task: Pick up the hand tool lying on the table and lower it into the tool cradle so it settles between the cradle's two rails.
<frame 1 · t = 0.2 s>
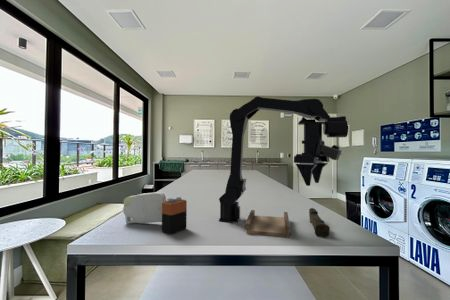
hand: (312, 184, 76), 14 cm above the table, tool pointing down, fingers open, 9 cm apart
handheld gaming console: (146, 224, 77), on the table
hand tool: (314, 228, 75), on the table
tool cradle: (268, 226, 75), on the table
battery: (174, 230, 71), on the table
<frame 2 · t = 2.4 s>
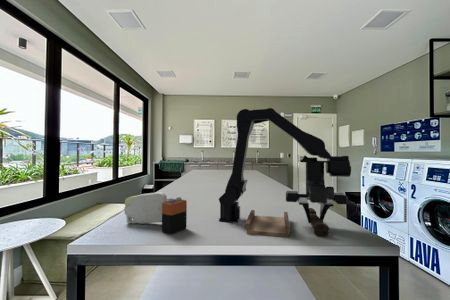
hand: (315, 223, 75), 1 cm above the table, tool pointing down, fingers closed on hand tool, 3 cm apart
hand tool: (313, 227, 75), on the table, touching gripper
everything else where it was.
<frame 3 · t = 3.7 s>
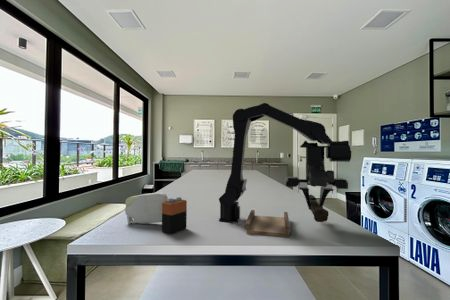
hand: (314, 208, 75), 6 cm above the table, tool pointing down, fingers closed on hand tool, 3 cm apart
hand tool: (313, 213, 75), point 4 cm above the table, touching gripper
everything else where it was.
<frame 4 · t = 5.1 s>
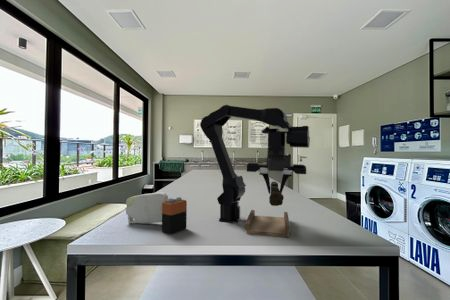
hand: (274, 194, 75), 11 cm above the table, tool pointing down, fingers closed on hand tool, 3 cm apart
hand tool: (273, 199, 75), point 9 cm above the table, touching gripper
everything else where it was.
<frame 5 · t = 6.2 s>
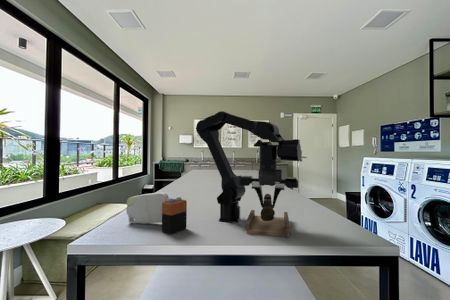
hand: (267, 207, 75), 6 cm above the table, tool pointing down, fingers closed on hand tool, 3 cm apart
hand tool: (266, 212, 75), point 4 cm above the table, touching gripper
everything else where it was.
when the fingers open (4 cm above the table, at t = 7.2 s): hand tool drops 2 cm, resting on tool cradle.
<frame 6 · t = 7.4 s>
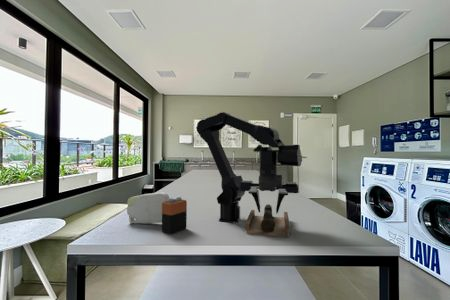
hand: (268, 212, 75), 4 cm above the table, tool pointing down, fingers open, 5 cm apart
hand tool: (266, 223, 75), point 1 cm above the table, touching tool cradle
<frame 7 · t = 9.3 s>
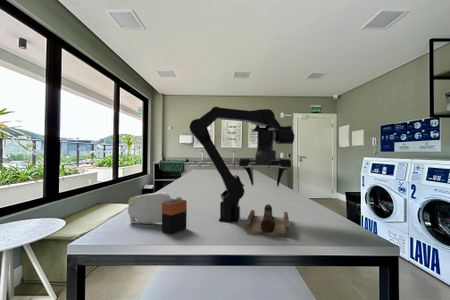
hand: (264, 186, 84), 12 cm above the table, tool pointing down, fingers open, 9 cm apart
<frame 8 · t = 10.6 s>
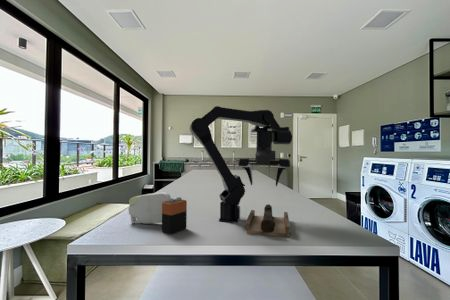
hand: (263, 185, 86), 12 cm above the table, tool pointing down, fingers open, 9 cm apart
at the end: hand tool 0.5 cm off-centre on the tool cradle, point 0.8 cm above the tool cradle's base; the gripper is holding nothing; hand tool touching tool cradle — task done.
